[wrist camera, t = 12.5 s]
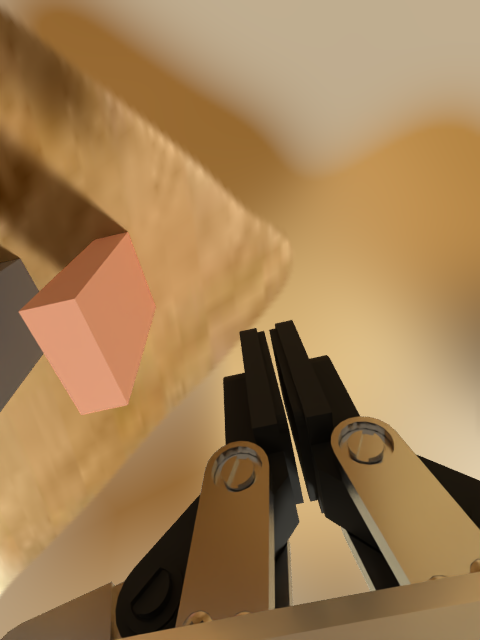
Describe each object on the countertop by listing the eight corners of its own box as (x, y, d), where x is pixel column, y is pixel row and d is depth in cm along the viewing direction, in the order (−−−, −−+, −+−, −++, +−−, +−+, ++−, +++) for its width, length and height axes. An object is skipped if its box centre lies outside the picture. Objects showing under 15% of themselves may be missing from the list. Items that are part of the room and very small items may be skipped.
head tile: (94, 239, 19) (18, 311, 11) (127, 231, 19) (74, 298, 11) (126, 313, 22) (81, 414, 14) (155, 307, 22) (127, 404, 14)
